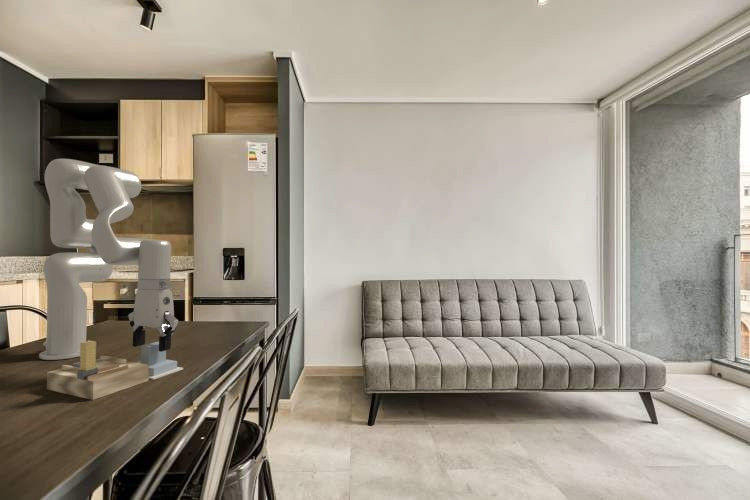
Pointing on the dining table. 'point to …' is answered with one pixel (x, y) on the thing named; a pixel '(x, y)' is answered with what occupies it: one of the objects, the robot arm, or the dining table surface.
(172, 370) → the mat
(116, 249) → the robot arm
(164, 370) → the cover
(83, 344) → the latch
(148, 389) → the dining table surface
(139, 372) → the tan box base
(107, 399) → the dining table surface
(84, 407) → the dining table surface
